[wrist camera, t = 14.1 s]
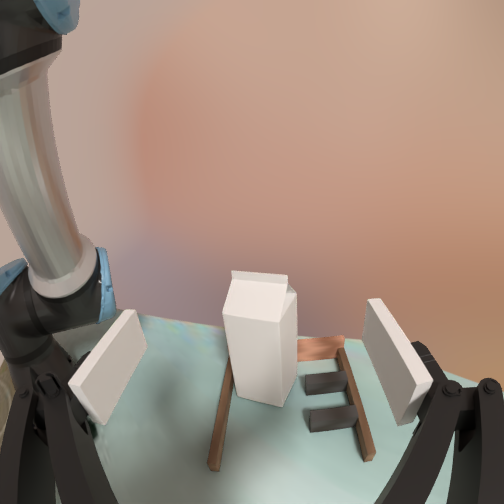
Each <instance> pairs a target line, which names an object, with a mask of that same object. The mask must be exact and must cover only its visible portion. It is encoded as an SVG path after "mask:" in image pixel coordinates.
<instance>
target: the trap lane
mask: <svg viewBox="0 0 504 504" xmlns="http://www.w3.org/2000/svg"><path fill="white" fill-rule="evenodd" d="M344 341H345V338H344V336H343V335H341V336H332V337H323V338H312V339H299V340H297V362H299V361H311V360H322V359H331V358H337V360H338V363H339V367H340V370H341V371H338V372H330V373H320V374H310V375H306V378H305V389H306V395H317V394H326V393H334V392H342V391H346V392H347V396H348V399H349V403H350V406H344V407H337V408H330V409H321V410H311V411H310V419H309V423H310V433H311V432H321V431H329V430H337V429H343V428H350V427H356V430H357V435H358V439H359V443H360V447H361V451H362V456H363V460H364V462H367V461H372V459H373V457H374V455H375V454H376V450H375V447H374V443H373V439H372V436H371V432H370V429H369V425H368V422H367V418H366V415H365V412H364V408H363V405H362V402H361V398H360V395H359V392H358V389H357V386H356V383H355V380H354V376H353V373H352V370H351V367H350V364H349V361H348V358H347V355H346V352H345V350H344ZM228 351H229V349H228ZM233 384H234V377H233V371H232V366H231V360H230V355H229V358H228V363H227V367H226V372H225V377H224V382H223V387H222V392H221V397H220V402H219V407H218V412H217V417H216V421H215V426H214V431H213V436H212V441H211V446H210V451H209V456H208V461H207V464H208V466H209V468H210V470H211V471H219V469H220V463H221V457H222V451H223V445H224V439H225V433H226V427H227V421H228V415H229V408H230V402H231V396H232V390H233Z"/></svg>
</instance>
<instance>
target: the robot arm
mask: <svg viewBox="0 0 504 504" xmlns="http://www.w3.org/2000/svg"><path fill="white" fill-rule="evenodd" d="M79 6H80V0H0V207H1V210H2V212H3V214H4V217H5V219H6V221H7V223H8V225H9V227H10V229H11V231H12V233H13V235H14V237H15V239H16V241H17V243H18V245H19V246H20V248H21V250H22V252H23V254H24V255H25V257H26V259H27V261H28V262H29V267H28V266H27V265H28V264H27V262H26V261H25V259H24V258H21V259H17V260H14V261H12V262H10V263H8V264H6V265H4V266H3V267H1V268H0V350H1V352H2V354H3V356H4V358H5V360H6V362H7V364H8V367H9V371H10V375H11V378H12V381H13V385H14V388H15V390H16V392H15V395H14V398H13V401H12V405H11V408H10V412H9V416H8V419H7V423H6V428H5V432H4V436H3V441H2V446H1V452H0V504H56V499H55V480H56V484H57V488H58V492H59V495H60V499H61V502H62V504H118V502H117V500H116V498H115V496H114V493H113V491H112V489H111V487H110V484H109V482H108V480H107V477H106V475H105V472H104V470H103V467H102V464H101V462H100V459H99V456H98V453H97V451H96V448H95V445H94V441H93V438H92V435H91V432H90V428H89V425H88V423H87V421H86V420H85V419H86V417H87V416H88V415H89V417H90V418H91V420H92V421H93V422H95V423H98V424H102V425H106V423H107V421H108V419H109V417H110V416H111V414H112V412H113V410H114V408H115V406H116V404H117V402H118V400H119V398H120V396H121V395H122V393H123V391H124V389H125V387H126V385H127V383H128V381H129V380H130V378H131V376H132V374H133V372H134V370H135V369H136V367H137V365H138V363H139V361H140V360H141V358H142V356H143V354H144V352H145V351H146V349H147V347H148V346H147V343H146V340H145V337H144V334H143V331H142V328H141V325H140V322H139V319H138V315H137V312H136V310H124V311H123V313H122V314H121V315H120V316H119V317H118V319H117V320H116V321H115V322H114V324H113V325H112V326H111V327H110V329H109V330H108V331H107V332H106V334H105V335H104V336H103V337H102V339H101V340H100V341H99V342H98V344H97V345H96V346H95V348H94V349H93V350H92V351H89V352H87V353H86V354H85V355H83V356H82V357H81V358H80V360H79V361H78V362H77V364H76V365H75V363H74V361H73V359H72V358H71V356H70V355H69V354H68V353H67V352H66V351H65V350H64V349H63V348H62V347H61V346H60V345H59V344H58V342H57V341H56V340H55V339H54V338H53V336H52V334H53V333H57V332H61V331H66V330H70V329H74V328H78V327H82V326H86V325H90V324H94V323H96V324H99V323H100V322H101V321H105V320H108V319H111V318H112V317H114V315H115V314H116V303H115V298H114V293H113V288H112V281H111V275H110V268H109V263H108V256H107V251H106V249H105V248H99V247H94V245H93V243H92V242H91V240H90V239H89V238H87V237H86V236H84V235H82V234H80V233H79V232H78V229H77V225H76V222H75V219H74V216H73V213H72V209H71V206H70V203H69V199H68V195H67V192H66V188H65V184H64V180H63V176H62V172H61V167H60V163H59V158H58V153H57V148H56V144H55V137H54V131H53V125H52V118H51V111H50V102H49V91H48V78H47V71H48V68H49V67H50V65H51V64H52V63H53V61H54V60H55V59H56V58H57V56H58V55H59V54H60V52H61V50H62V34H64V35H67V33H69V32H71V31H73V30H74V29H75V28H76V27H77V25H78V20H79ZM362 341H363V343H364V345H365V348H366V350H367V352H368V354H369V357H370V359H371V361H372V364H373V366H374V368H375V371H376V373H377V375H378V378H379V380H380V383H381V385H382V388H383V390H384V392H385V395H386V397H387V400H388V402H389V405H390V408H391V410H392V413H393V415H394V418H395V421H396V423H397V426H401V425H404V424H408V423H411V422H413V421H414V419H415V417H416V415H418V417H419V420H420V421H419V423H418V425H417V427H416V428H415V430H414V432H413V433H412V434H413V436H412V438H411V440H410V442H409V444H408V446H407V448H406V450H405V452H404V454H403V456H402V458H401V460H400V462H399V464H398V466H397V467H396V469H395V471H394V473H393V474H392V476H391V478H390V480H389V481H388V483H387V484H386V486H385V488H384V489H383V491H382V492H381V494H380V496H379V497H378V499H377V500H376V502H375V503H374V504H425V502H426V500H427V498H428V496H429V494H430V492H431V490H432V488H433V486H434V483H435V481H436V479H437V477H438V474H439V472H440V469H441V467H442V464H443V462H444V459H445V457H446V454H447V451H448V448H449V445H450V442H451V439H452V436H453V433H454V431H455V442H454V455H453V465H452V473H451V480H450V487H449V493H448V498H447V503H446V504H504V399H503V393H502V388H501V386H500V384H499V383H498V382H497V381H496V380H494V379H491V378H485V379H483V380H481V381H480V383H479V384H478V386H477V387H470V388H462V386H461V385H460V384H459V383H458V382H456V381H453V380H448V379H447V377H446V376H445V374H444V373H443V371H442V369H441V368H440V367H439V365H438V363H437V362H436V361H435V359H434V357H433V356H432V355H431V353H430V351H429V350H428V348H427V347H426V346H425V345H423V344H422V343H420V342H419V341H417V342H412V343H410V342H409V340H408V339H407V337H406V335H405V334H404V332H403V331H402V329H401V328H400V326H399V325H398V323H397V322H396V320H395V319H394V317H393V316H392V315H391V313H390V312H389V310H388V309H387V307H386V306H385V305H384V303H383V302H382V300H381V299H380V298H377V299H368V300H367V308H366V315H365V322H364V329H363V336H362ZM33 423H34V424H35V426H34V428H33Z"/></svg>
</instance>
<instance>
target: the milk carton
mask: <svg viewBox="0 0 504 504" xmlns="http://www.w3.org/2000/svg"><path fill="white" fill-rule="evenodd" d="M231 272H232V282H231V285H230V288H229V292H228V295H227V298H226V302H225V305H224V308H223V312H222V314H223V320H224V326H225V332H226V338H227V344H228V349H229V355H230V360H231V366H232V371H233V377H234V382H235V387H236V392H237V396H238V397H242V398H245V399H249V400H253V401H257V402H261V403H265V404H269V405H274V406H278V407H283V405H284V403H285V401H286V399H287V397H288V394H289V392H290V390H291V388H292V386H293V383H294V381H295V379H296V377H297V295H296V292H295V291H294V290H293V289H292V287H291V286H290V285H289V284H288V276H287V275H280V274H268V273H255V272H243V271H231Z"/></svg>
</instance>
